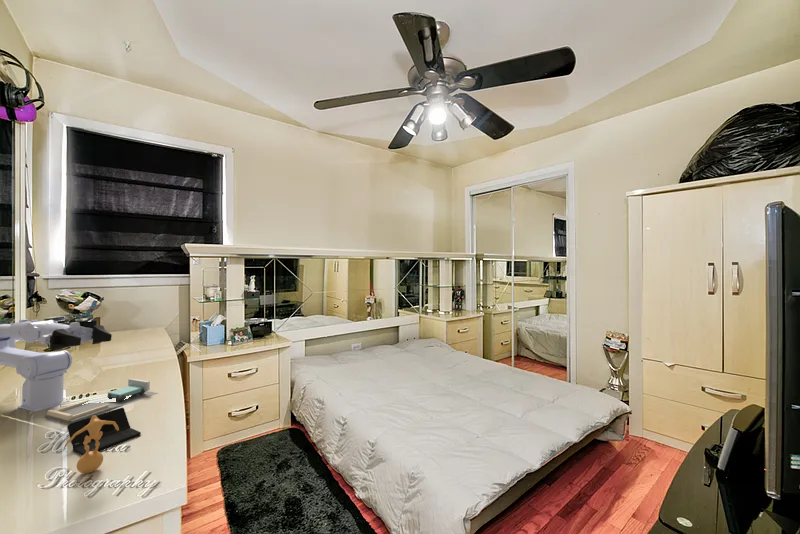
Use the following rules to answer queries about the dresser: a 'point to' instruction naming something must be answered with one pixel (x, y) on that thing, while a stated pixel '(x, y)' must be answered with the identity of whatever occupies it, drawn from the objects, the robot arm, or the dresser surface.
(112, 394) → the grey teal-panelled part
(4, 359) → the robot arm
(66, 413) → the dock
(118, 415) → the handheld gaming console
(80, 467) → the figurine
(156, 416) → the dresser surface
